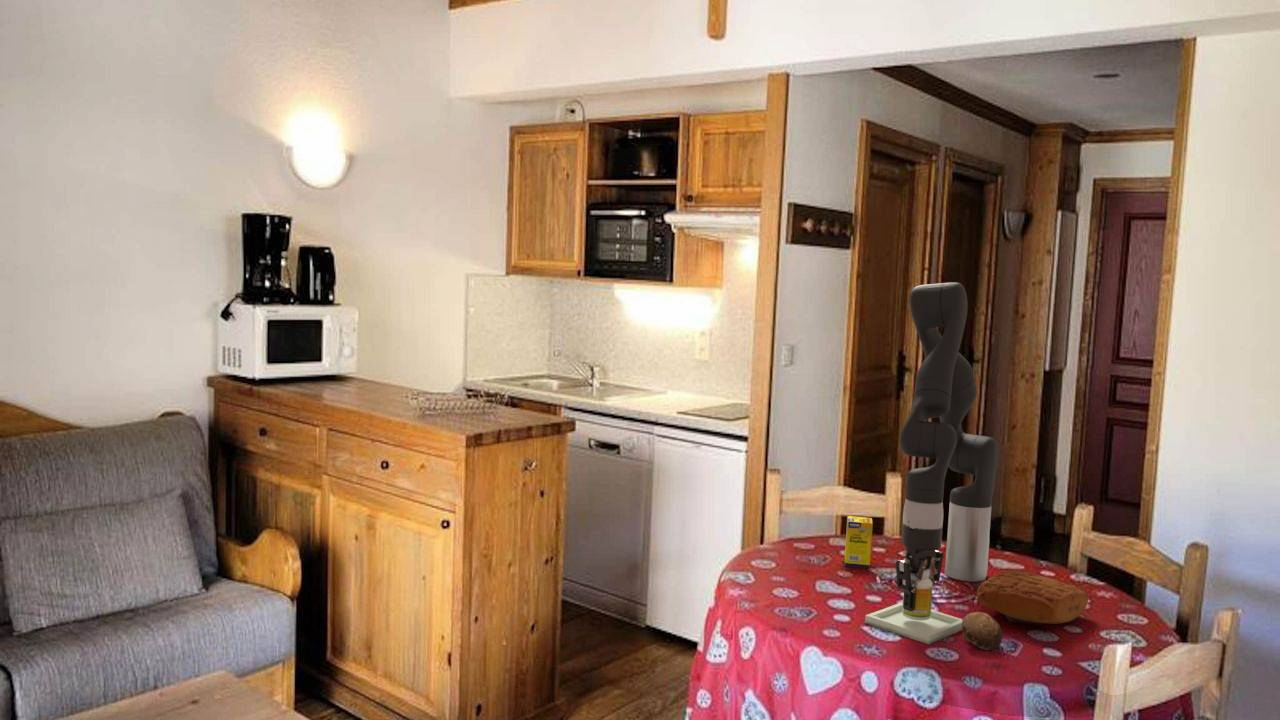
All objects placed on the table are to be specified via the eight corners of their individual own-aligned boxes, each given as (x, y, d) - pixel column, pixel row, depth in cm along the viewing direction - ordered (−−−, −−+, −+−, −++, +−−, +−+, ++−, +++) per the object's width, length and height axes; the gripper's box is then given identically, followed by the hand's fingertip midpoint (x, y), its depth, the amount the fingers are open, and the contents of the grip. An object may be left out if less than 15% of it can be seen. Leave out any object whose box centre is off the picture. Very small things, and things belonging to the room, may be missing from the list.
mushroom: (949, 618, 189) (968, 598, 186) (985, 634, 190) (1004, 614, 187) (954, 650, 183) (974, 631, 179) (991, 667, 184) (1012, 647, 180)
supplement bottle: (933, 621, 191) (937, 572, 190) (905, 620, 191) (909, 571, 190) (926, 612, 197) (929, 564, 196) (899, 611, 197) (902, 563, 196)
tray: (903, 609, 204) (904, 601, 204) (966, 628, 194) (966, 620, 193) (865, 623, 194) (865, 615, 194) (928, 644, 184) (929, 636, 184)
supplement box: (870, 568, 232) (873, 523, 231) (844, 566, 233) (847, 521, 232) (869, 562, 238) (872, 517, 237) (844, 559, 239) (847, 515, 238)
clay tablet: (1050, 643, 188) (1053, 602, 187) (966, 618, 200) (969, 580, 199) (1093, 618, 203) (1097, 580, 203) (1013, 597, 215) (1016, 561, 215)
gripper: (924, 513, 200) (919, 595, 201) (885, 523, 190) (880, 609, 191) (958, 521, 194) (953, 604, 196) (920, 532, 185) (914, 620, 186)
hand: (917, 606), depth 194 cm, fingers closed on supplement bottle, 5 cm apart
